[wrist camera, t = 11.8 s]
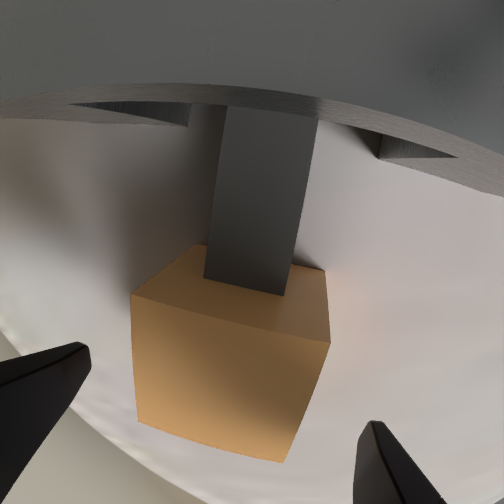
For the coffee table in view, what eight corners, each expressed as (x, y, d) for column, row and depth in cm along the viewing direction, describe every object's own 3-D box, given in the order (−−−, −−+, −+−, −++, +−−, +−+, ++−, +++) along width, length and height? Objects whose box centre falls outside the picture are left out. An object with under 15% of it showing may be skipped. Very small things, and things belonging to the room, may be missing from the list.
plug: (266, -106, 7) (246, -168, 2) (371, -95, 6) (380, -157, 1) (186, 361, 14) (140, 434, 9) (291, 387, 13) (277, 474, 9)
